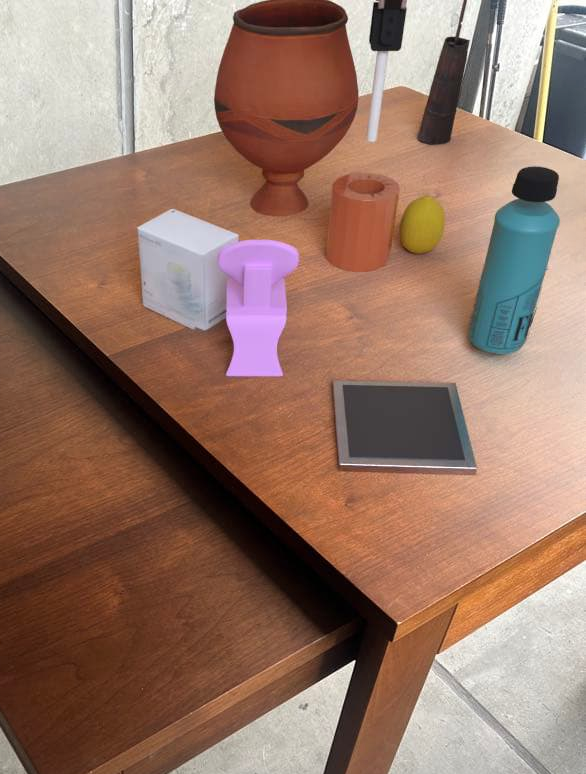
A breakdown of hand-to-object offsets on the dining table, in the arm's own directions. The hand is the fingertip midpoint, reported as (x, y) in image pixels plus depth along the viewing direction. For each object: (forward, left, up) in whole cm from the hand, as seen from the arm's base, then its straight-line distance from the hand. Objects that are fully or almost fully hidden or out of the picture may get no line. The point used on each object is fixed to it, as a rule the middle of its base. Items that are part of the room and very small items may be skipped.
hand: (384, 46), depth 93 cm
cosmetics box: (+21, +11, -26) cm, 35 cm away
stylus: (0, 0, -10) cm, 10 cm away
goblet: (+10, -18, -26) cm, 33 cm away
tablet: (-2, +33, -26) cm, 42 cm away
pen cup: (0, -2, -26) cm, 26 cm away
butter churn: (-15, -43, -26) cm, 52 cm away
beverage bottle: (-14, +18, -26) cm, 35 cm away
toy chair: (+13, +20, -26) cm, 35 cm away
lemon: (-8, -4, -26) cm, 28 cm away
